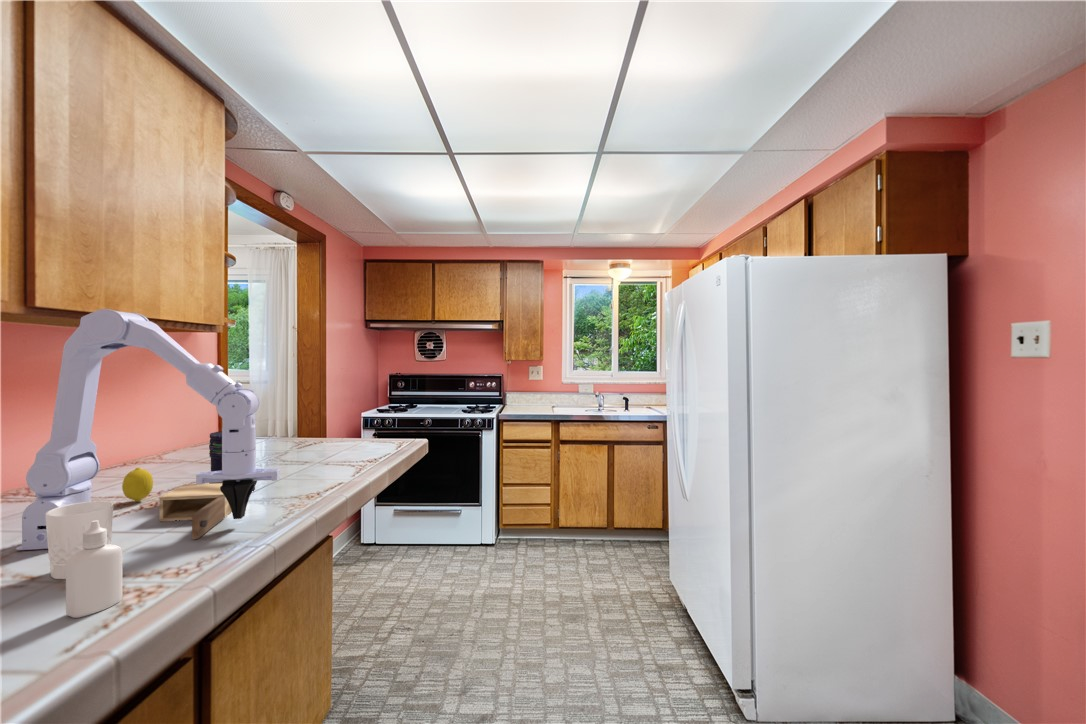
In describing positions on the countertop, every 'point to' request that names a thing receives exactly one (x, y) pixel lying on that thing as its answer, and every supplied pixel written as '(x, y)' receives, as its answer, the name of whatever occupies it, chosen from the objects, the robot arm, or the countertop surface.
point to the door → (208, 517)
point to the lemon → (137, 484)
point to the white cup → (73, 531)
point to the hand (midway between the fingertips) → (239, 517)
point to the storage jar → (216, 452)
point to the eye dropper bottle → (93, 574)
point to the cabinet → (189, 501)
